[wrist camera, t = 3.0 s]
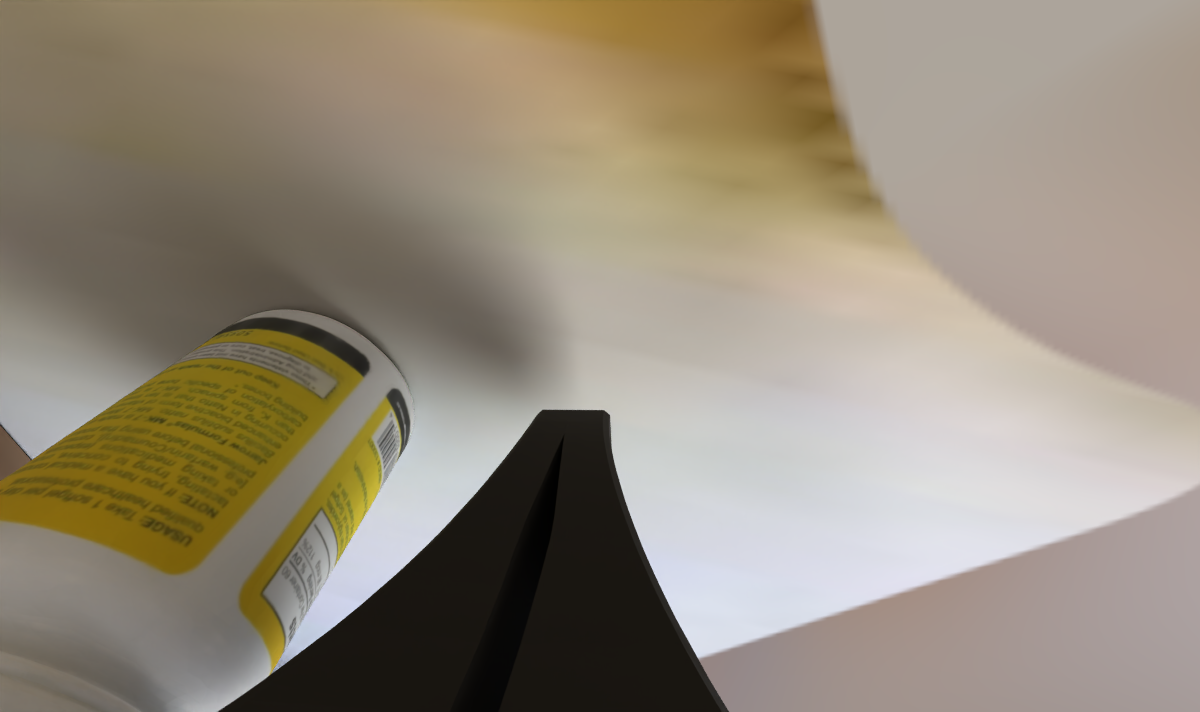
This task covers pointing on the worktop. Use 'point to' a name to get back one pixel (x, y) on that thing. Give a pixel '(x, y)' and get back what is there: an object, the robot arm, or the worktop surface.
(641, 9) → the worktop surface
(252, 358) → the supplement bottle
